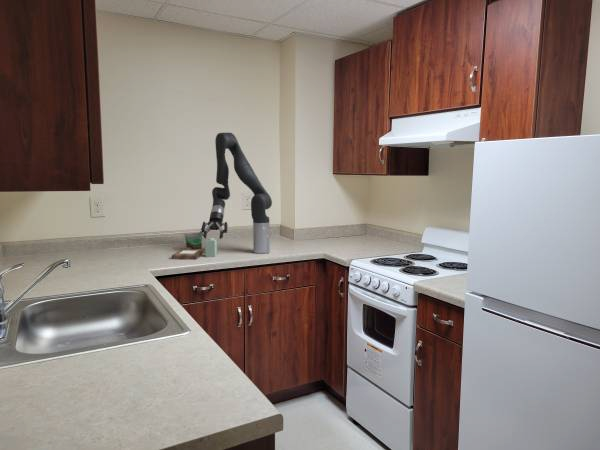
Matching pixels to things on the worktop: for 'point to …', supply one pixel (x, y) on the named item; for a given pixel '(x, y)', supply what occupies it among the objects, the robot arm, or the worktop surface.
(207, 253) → the sage block
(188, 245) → the food container
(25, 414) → the worktop surface
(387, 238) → the worktop surface
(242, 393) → the worktop surface
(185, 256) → the base board
